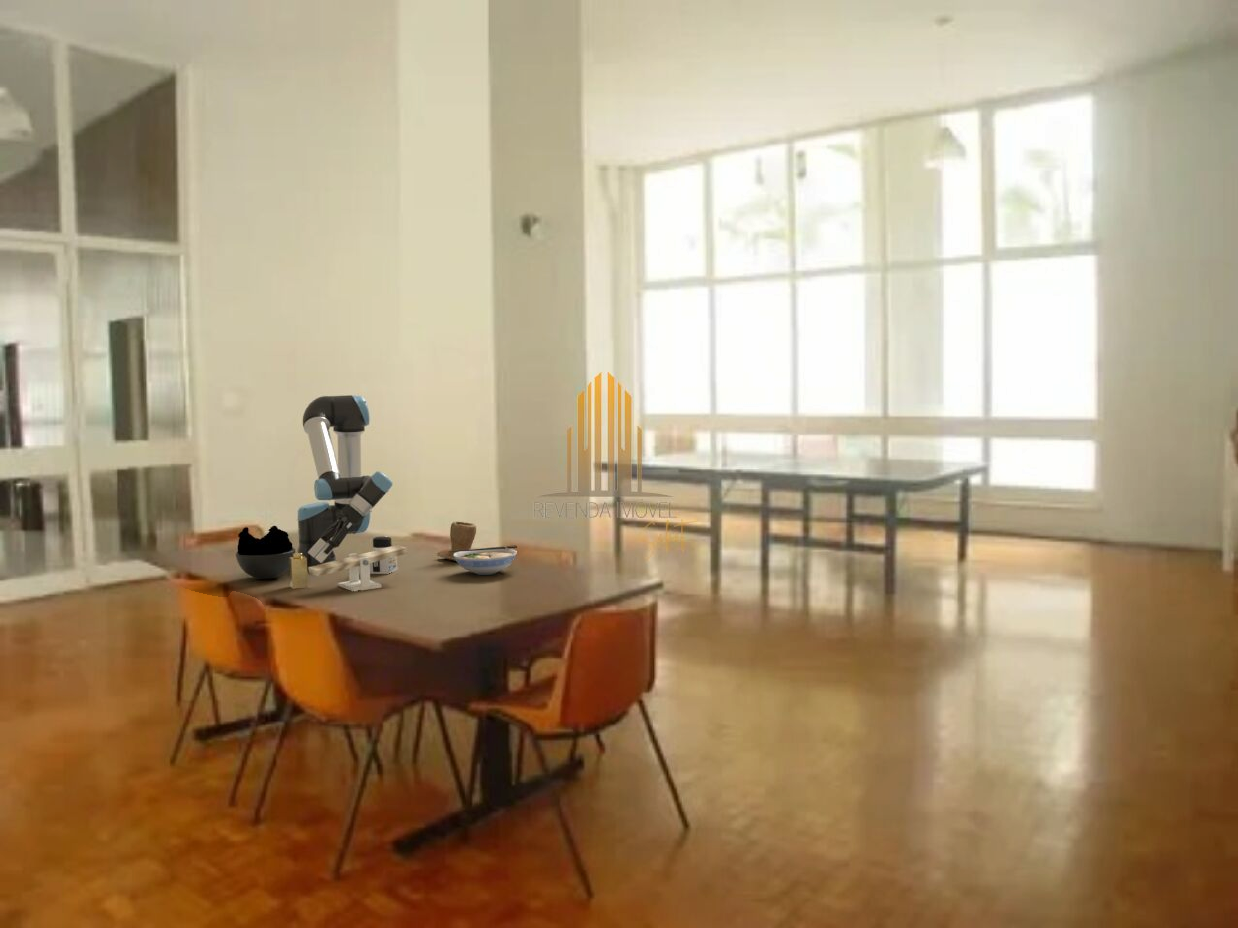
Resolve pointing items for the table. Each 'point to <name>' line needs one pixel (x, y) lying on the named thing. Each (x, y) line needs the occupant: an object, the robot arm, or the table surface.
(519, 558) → the table surface
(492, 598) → the table surface
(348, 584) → the beam stand
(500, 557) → the ramen bowl
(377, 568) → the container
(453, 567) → the table surface
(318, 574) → the balance beam
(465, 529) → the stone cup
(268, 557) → the coal bowl
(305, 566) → the brass weight
